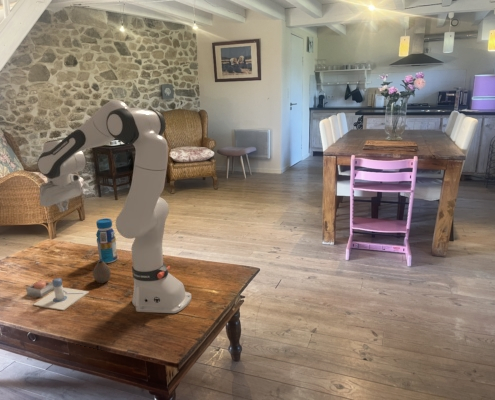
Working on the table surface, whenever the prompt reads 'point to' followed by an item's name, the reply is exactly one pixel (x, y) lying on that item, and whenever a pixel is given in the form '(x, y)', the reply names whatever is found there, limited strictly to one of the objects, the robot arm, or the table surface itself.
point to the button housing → (40, 290)
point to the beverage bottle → (106, 241)
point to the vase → (101, 272)
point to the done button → (39, 284)
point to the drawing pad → (69, 299)
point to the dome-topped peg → (58, 289)
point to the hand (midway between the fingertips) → (63, 211)
